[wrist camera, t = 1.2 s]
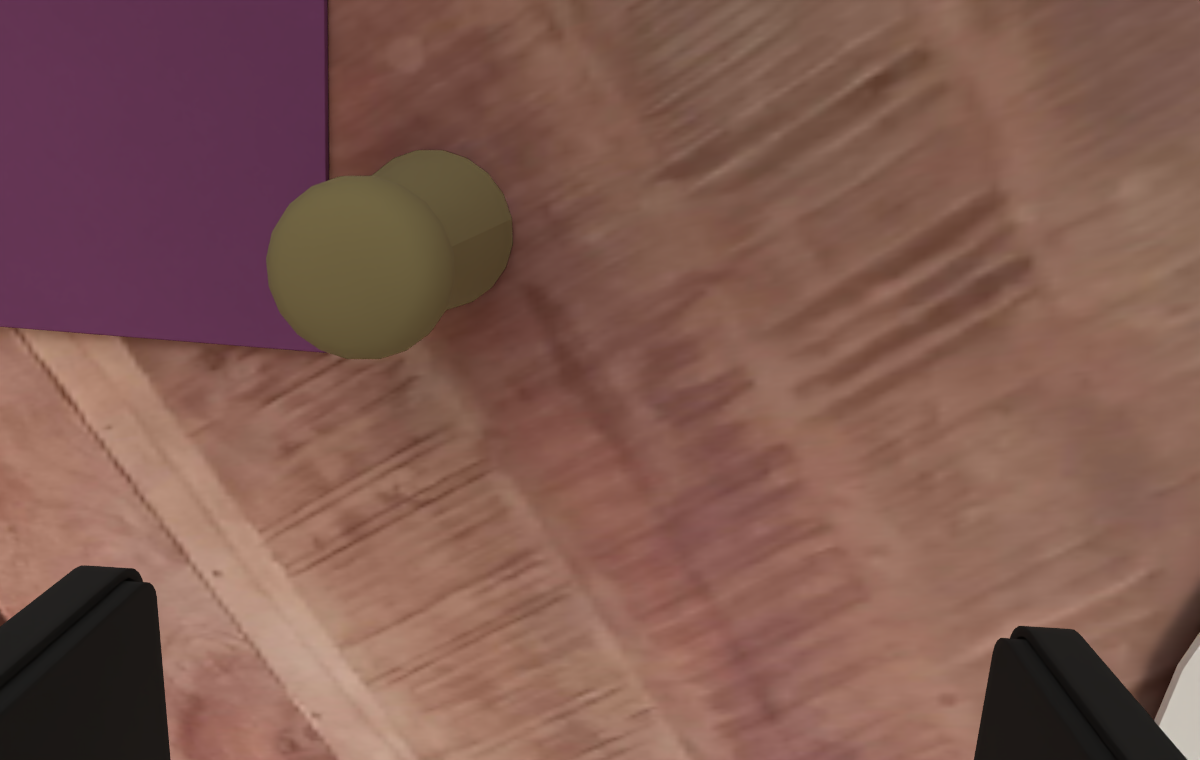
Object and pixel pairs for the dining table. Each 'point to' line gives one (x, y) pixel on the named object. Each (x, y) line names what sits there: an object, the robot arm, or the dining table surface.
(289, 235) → the pepper mill
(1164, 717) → the plated food
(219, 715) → the dining table surface
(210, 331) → the placemat
